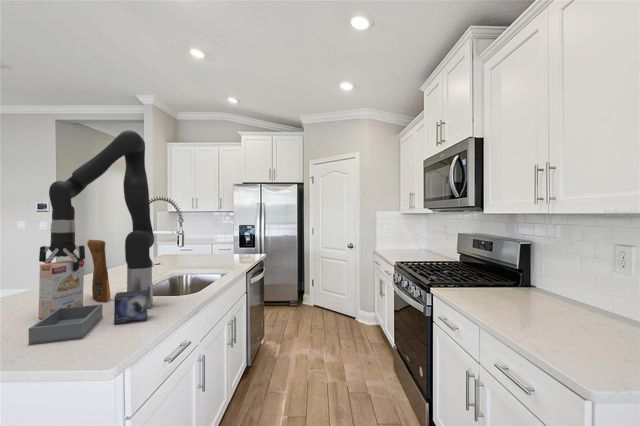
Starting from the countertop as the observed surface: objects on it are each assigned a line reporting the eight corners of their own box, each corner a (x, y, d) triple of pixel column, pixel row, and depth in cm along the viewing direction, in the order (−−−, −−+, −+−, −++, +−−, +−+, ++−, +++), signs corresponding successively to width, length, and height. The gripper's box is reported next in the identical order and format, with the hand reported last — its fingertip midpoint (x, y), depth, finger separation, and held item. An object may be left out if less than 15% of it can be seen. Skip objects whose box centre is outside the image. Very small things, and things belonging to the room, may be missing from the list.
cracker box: (51, 320, 116) (52, 264, 116) (37, 319, 116) (38, 264, 116) (84, 308, 130) (84, 259, 130) (71, 308, 130) (72, 258, 130)
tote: (102, 317, 119) (102, 304, 119) (82, 338, 99) (82, 323, 99) (58, 321, 114) (58, 308, 114) (28, 344, 94) (28, 328, 94)
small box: (113, 325, 111) (113, 296, 111) (115, 320, 116) (115, 292, 116) (146, 321, 116) (147, 293, 116) (147, 315, 121) (147, 289, 121)
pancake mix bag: (96, 305, 135) (96, 241, 135) (85, 296, 147) (86, 238, 148) (113, 301, 140) (114, 240, 140) (102, 294, 153) (103, 237, 153)
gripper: (87, 230, 129) (87, 269, 129) (45, 230, 124) (44, 271, 124) (81, 231, 122) (80, 272, 122) (36, 231, 117) (35, 274, 117)
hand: (62, 271), depth 123 cm, fingers closed on cracker box, 8 cm apart
